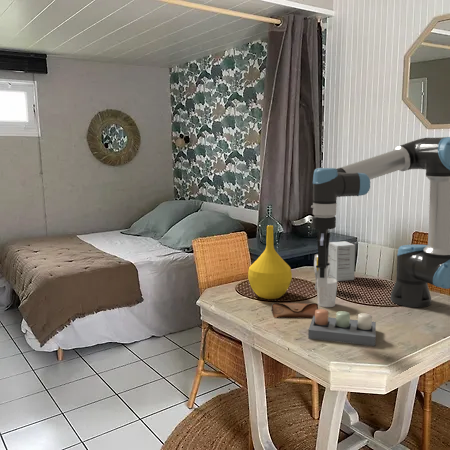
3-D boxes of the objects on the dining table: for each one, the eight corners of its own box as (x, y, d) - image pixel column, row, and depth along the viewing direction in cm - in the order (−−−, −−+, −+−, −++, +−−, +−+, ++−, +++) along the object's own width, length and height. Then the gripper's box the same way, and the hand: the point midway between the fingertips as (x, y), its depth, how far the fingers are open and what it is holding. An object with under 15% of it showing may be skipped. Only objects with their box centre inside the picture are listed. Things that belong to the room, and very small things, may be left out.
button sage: (349, 323, 157) (350, 311, 157) (349, 328, 153) (349, 316, 153) (336, 321, 159) (336, 310, 158) (335, 326, 155) (335, 315, 154)
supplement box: (354, 280, 217) (356, 244, 214) (336, 281, 215) (337, 246, 212) (345, 274, 226) (346, 240, 224) (327, 276, 224) (328, 241, 221)
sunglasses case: (272, 318, 171) (272, 300, 173) (271, 321, 178) (271, 304, 180) (322, 318, 171) (320, 300, 173) (319, 321, 177) (317, 304, 180)
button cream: (371, 325, 155) (372, 313, 155) (371, 330, 151) (372, 318, 150) (357, 324, 157) (358, 312, 156) (357, 328, 152) (357, 317, 152)
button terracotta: (328, 321, 159) (329, 309, 159) (327, 325, 155) (327, 314, 155) (315, 319, 161) (315, 308, 160) (314, 324, 157) (314, 313, 156)
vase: (300, 296, 195) (301, 226, 190) (266, 305, 185) (267, 231, 179) (272, 286, 210) (272, 220, 204) (239, 294, 199) (238, 225, 194)
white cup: (336, 308, 181) (337, 283, 179) (316, 307, 182) (316, 282, 180) (336, 301, 188) (336, 278, 186) (316, 300, 190) (316, 277, 188)
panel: (375, 330, 159) (375, 321, 159) (375, 345, 147) (375, 337, 147) (313, 323, 166) (313, 315, 165) (308, 338, 154) (308, 329, 153)
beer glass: (331, 287, 206) (332, 254, 204) (326, 292, 200) (327, 258, 198) (317, 285, 210) (317, 253, 207) (311, 289, 204) (311, 256, 201)
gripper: (315, 212, 160) (313, 278, 164) (309, 218, 146) (308, 291, 150) (337, 213, 157) (335, 280, 161) (334, 219, 144) (332, 293, 148)
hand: (322, 285), depth 156 cm, fingers closed
